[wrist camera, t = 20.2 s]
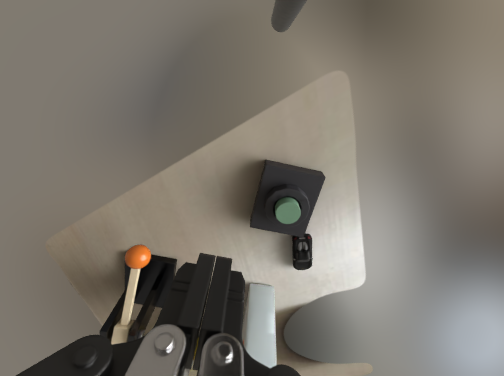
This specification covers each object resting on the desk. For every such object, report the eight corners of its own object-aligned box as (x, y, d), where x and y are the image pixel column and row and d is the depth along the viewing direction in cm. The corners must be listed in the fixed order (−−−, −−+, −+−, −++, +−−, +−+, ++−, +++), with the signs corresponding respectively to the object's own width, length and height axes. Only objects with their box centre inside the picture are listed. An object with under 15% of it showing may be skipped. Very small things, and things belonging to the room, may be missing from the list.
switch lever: (133, 240, 39) (123, 246, 35) (156, 244, 39) (148, 251, 36) (115, 331, 39) (103, 347, 36) (138, 335, 40) (128, 350, 36)
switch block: (265, 159, 37) (266, 168, 34) (321, 171, 38) (328, 181, 34) (250, 219, 42) (249, 233, 38) (300, 229, 42) (305, 244, 39)
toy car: (311, 266, 46) (313, 274, 44) (292, 267, 46) (294, 275, 44) (310, 230, 42) (313, 237, 40) (290, 231, 43) (292, 239, 41)
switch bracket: (128, 250, 45) (83, 310, 33) (177, 259, 46) (149, 321, 34) (127, 296, 50) (88, 363, 38) (171, 303, 51) (146, 371, 39)
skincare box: (246, 281, 48) (242, 371, 33) (274, 284, 48) (281, 374, 33) (235, 349, 56) (228, 443, 42) (259, 351, 57) (260, 446, 42)
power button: (278, 194, 36) (279, 200, 34) (301, 199, 36) (304, 205, 34) (272, 215, 37) (272, 221, 36) (295, 219, 37) (296, 226, 36)
